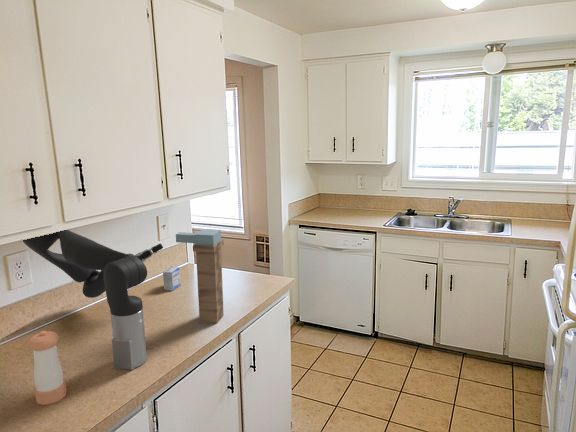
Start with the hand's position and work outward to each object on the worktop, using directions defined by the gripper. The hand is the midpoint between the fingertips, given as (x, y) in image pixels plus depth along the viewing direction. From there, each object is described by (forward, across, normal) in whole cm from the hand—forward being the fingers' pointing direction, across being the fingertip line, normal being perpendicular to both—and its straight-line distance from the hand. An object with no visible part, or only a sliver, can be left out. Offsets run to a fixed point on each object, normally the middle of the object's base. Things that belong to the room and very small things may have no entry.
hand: (156, 248), depth 160 cm
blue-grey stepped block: (+16, 0, +5) cm, 17 cm away
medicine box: (-20, +27, +19) cm, 39 cm away
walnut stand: (+5, 0, +33) cm, 34 cm away
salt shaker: (-18, -53, +21) cm, 60 cm away
